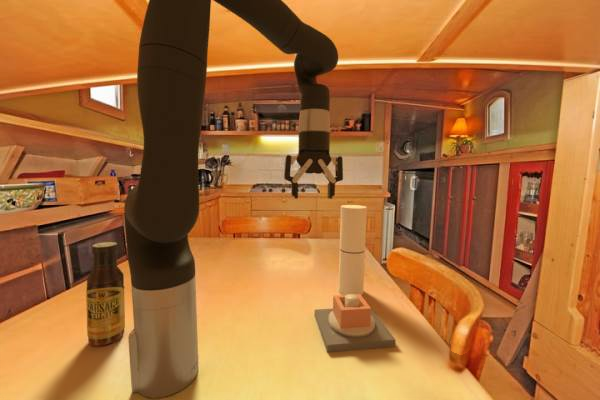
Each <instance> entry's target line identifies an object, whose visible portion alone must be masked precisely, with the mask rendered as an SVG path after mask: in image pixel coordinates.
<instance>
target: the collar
mask: <svg viewBox="0 0 600 400" xmlns="http://www.w3.org/2000/svg"><path fill="white" fill-rule="evenodd" d="M354 295H357V296H358V297H359V307H345V296H346V295H342V294H337V295H336V294H335V295H333V296H332V298H333V299H332V309H333V313H334V316H335V318H336V320H337V322H338V324H339V326H340V328H355V327H369V326H370V321H371V308H372V307H371V306H370V305H369V304H368V302H367V301H366V300H365V299H364V297H363V296H362V295H360V294H354ZM370 307H371V308H370Z"/></svg>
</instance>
